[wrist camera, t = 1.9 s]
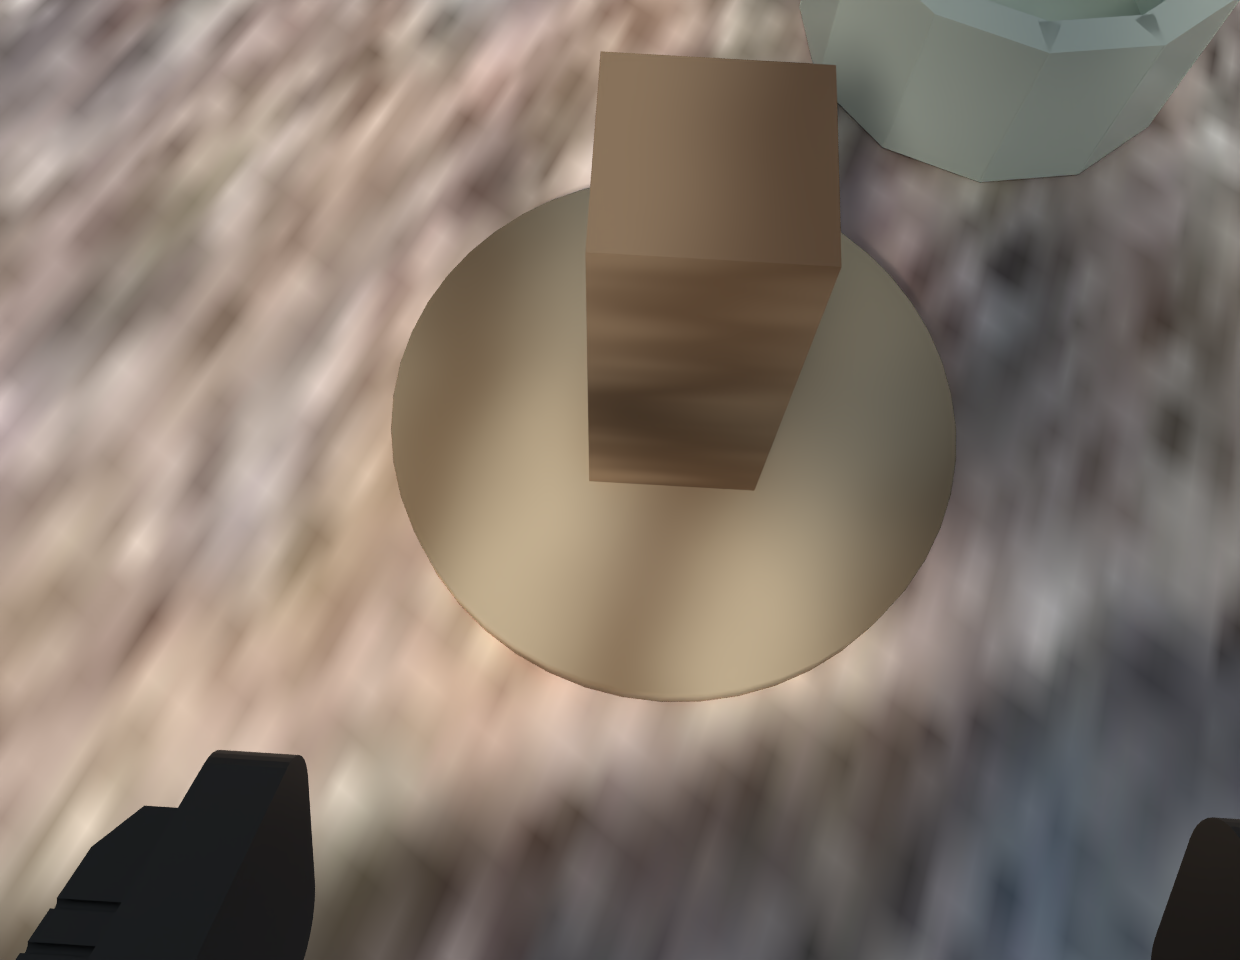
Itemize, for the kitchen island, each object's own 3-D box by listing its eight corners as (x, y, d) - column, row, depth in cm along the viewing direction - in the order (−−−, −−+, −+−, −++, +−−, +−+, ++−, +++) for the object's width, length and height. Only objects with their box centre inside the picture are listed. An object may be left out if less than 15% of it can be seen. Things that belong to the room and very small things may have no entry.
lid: (363, 685, 25) (201, 538, 15) (433, 191, 30) (349, -173, 20) (958, 719, 25) (1210, 595, 15) (927, 219, 30) (1097, -131, 20)
